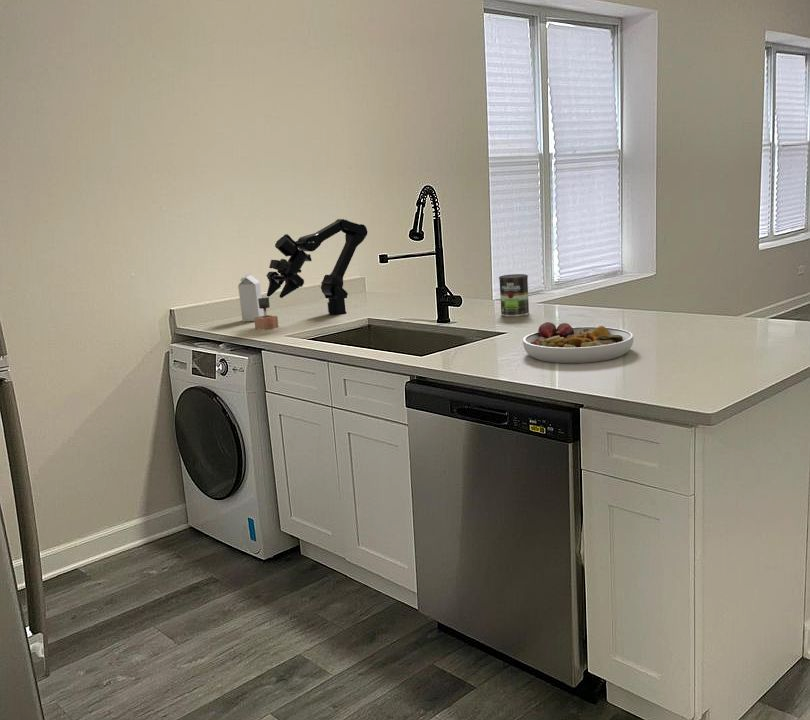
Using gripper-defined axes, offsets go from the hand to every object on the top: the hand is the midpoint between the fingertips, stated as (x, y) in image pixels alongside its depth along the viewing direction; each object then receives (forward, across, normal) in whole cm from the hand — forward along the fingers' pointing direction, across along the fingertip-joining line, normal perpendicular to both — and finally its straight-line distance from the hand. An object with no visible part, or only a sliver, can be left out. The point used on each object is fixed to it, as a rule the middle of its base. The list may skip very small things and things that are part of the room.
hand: (273, 296), depth 322 cm
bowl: (-3, +132, +20) cm, 134 cm away
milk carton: (+6, -22, +10) cm, 25 cm away
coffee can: (-31, +71, +49) cm, 92 cm away
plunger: (+10, 0, +3) cm, 11 cm away
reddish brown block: (+11, +1, +4) cm, 12 cm away
